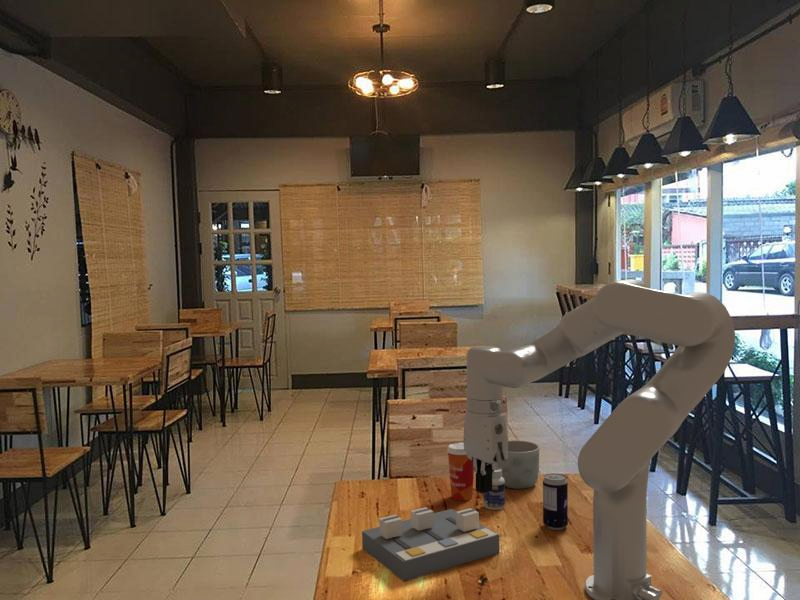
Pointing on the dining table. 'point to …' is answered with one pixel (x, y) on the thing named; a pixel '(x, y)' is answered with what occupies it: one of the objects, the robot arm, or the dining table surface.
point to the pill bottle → (496, 492)
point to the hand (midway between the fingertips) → (483, 490)
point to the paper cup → (460, 472)
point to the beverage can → (555, 501)
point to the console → (430, 546)
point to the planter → (521, 465)
